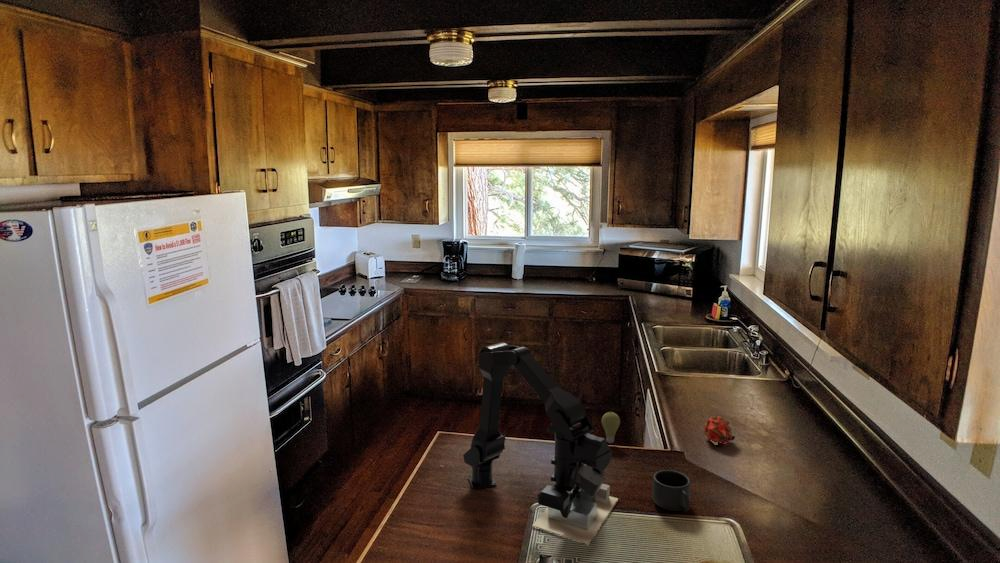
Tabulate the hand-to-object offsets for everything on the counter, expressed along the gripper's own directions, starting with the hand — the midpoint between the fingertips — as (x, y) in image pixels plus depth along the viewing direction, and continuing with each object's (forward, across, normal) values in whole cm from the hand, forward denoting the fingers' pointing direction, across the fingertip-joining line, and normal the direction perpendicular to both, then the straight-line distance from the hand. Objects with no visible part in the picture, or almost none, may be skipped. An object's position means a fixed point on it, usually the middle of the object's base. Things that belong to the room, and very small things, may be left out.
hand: (565, 516), depth 133 cm
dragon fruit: (+3, +65, -24) cm, 69 cm away
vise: (+3, +7, 0) cm, 8 cm away
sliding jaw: (+2, +4, 0) cm, 5 cm away
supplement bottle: (+2, +10, 0) cm, 11 cm away
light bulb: (+3, +48, +5) cm, 49 cm away
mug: (+3, +21, -20) cm, 30 cm away
